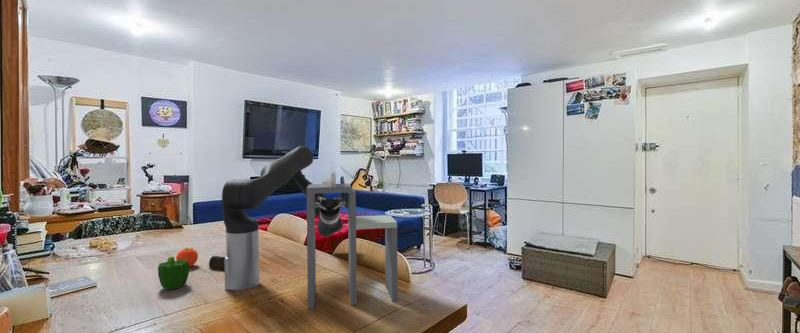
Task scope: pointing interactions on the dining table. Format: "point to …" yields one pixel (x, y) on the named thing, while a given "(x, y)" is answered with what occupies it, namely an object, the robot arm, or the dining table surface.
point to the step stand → (351, 242)
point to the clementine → (188, 256)
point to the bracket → (330, 180)
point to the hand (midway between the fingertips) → (329, 194)
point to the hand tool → (217, 262)
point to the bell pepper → (173, 273)
